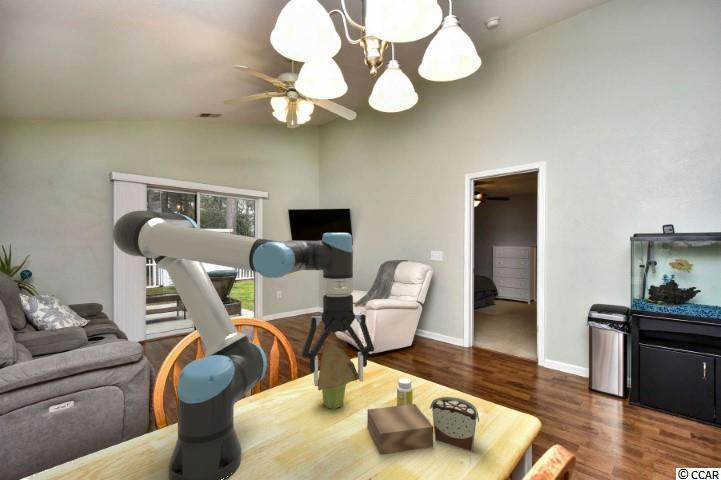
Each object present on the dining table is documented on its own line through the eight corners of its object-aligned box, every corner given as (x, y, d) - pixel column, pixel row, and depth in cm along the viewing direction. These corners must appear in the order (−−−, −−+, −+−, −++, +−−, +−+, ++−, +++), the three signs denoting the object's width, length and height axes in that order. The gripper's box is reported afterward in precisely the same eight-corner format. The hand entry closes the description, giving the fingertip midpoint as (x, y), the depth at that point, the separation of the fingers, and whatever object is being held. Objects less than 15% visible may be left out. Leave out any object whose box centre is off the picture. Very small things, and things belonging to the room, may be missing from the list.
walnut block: (380, 454, 84) (380, 433, 84) (367, 427, 95) (367, 409, 95) (433, 446, 87) (433, 426, 87) (414, 421, 99) (414, 403, 99)
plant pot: (345, 413, 103) (345, 384, 103) (314, 410, 104) (314, 381, 104) (351, 398, 112) (351, 371, 112) (322, 396, 114) (323, 369, 114)
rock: (361, 364, 93) (324, 358, 94) (363, 346, 88) (324, 340, 89) (355, 404, 85) (315, 397, 85) (357, 386, 79) (314, 379, 80)
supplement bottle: (412, 404, 109) (412, 377, 108) (412, 412, 104) (413, 384, 104) (396, 403, 109) (396, 377, 109) (396, 411, 104) (397, 383, 104)
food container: (483, 441, 89) (483, 403, 89) (478, 454, 84) (478, 413, 84) (437, 427, 95) (437, 391, 95) (429, 439, 90) (429, 401, 90)
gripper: (291, 298, 80) (292, 393, 81) (386, 294, 86) (387, 383, 86) (290, 293, 88) (291, 380, 88) (378, 290, 93) (378, 371, 93)
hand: (338, 381), depth 87 cm, fingers closed on rock, 11 cm apart
